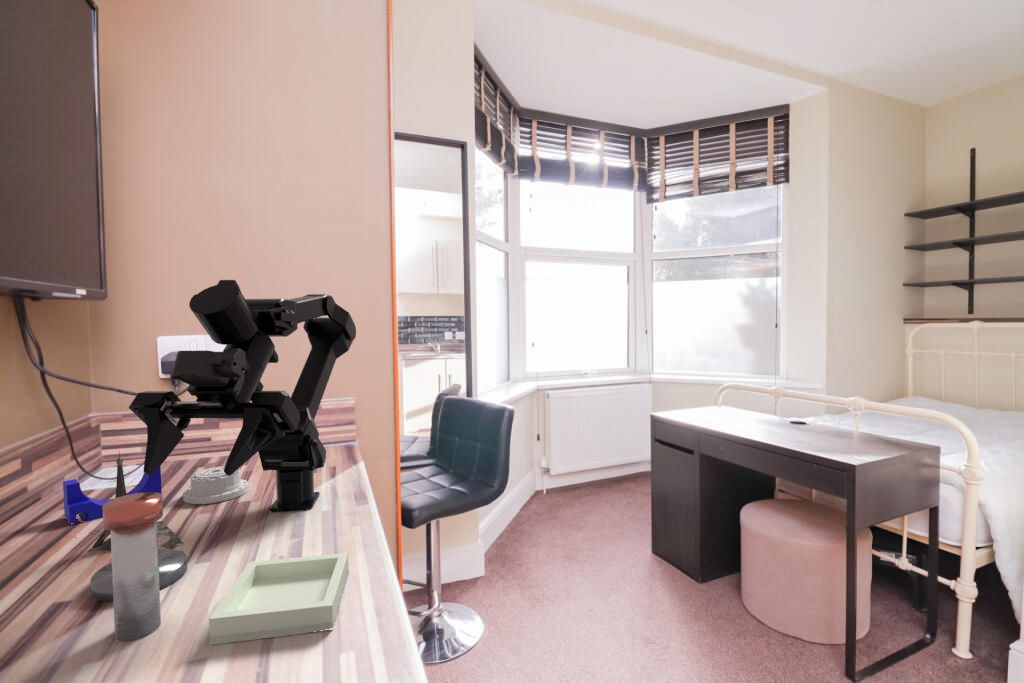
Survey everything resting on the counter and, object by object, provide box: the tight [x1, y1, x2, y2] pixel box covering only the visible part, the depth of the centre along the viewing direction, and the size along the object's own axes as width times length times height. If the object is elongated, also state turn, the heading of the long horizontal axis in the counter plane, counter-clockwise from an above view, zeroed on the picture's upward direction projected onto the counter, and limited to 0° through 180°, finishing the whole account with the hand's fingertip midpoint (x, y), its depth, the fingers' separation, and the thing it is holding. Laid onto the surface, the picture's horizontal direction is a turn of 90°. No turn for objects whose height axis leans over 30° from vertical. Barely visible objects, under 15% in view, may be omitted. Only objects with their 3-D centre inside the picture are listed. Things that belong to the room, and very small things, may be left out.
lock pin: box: [102, 492, 164, 642], centre depth 48 cm, size 5×5×13 cm
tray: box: [208, 552, 350, 646], centre depth 52 cm, size 11×11×2 cm
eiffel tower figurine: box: [88, 450, 184, 552], centre depth 67 cm, size 15×10×13 cm
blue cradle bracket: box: [62, 466, 163, 525], centre depth 79 cm, size 12×4×6 cm, turn 141°
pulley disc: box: [90, 548, 188, 602], centre depth 57 cm, size 9×9×2 cm
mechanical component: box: [182, 465, 250, 505], centre depth 86 cm, size 10×4×10 cm
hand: (187, 473), depth 55 cm, fingers open, 9 cm apart
